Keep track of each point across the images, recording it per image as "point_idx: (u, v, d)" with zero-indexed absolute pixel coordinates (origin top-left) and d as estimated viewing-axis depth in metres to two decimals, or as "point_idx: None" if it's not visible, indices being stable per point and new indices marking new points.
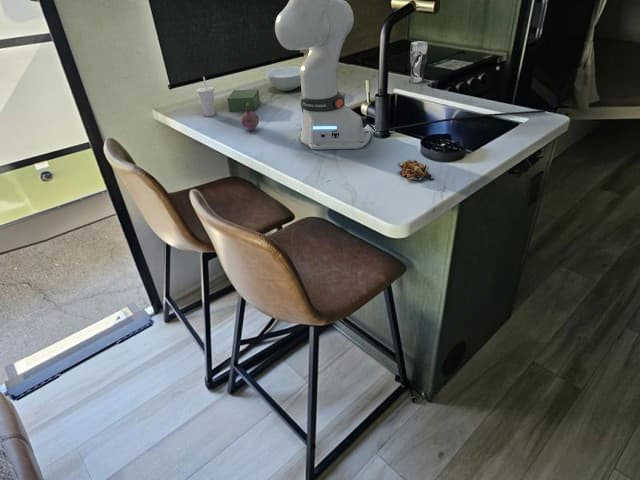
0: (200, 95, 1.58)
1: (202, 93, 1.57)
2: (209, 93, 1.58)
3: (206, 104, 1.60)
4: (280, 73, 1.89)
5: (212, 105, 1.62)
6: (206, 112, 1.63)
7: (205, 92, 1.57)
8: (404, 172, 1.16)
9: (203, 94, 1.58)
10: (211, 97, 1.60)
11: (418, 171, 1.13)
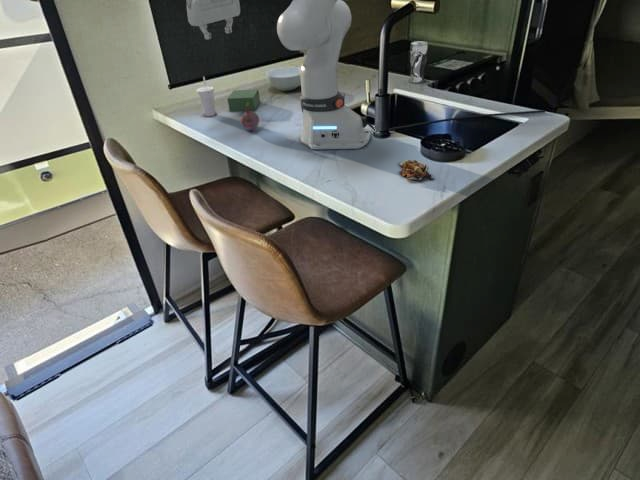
0: (200, 95, 1.58)
1: (202, 93, 1.57)
2: (209, 93, 1.58)
3: (206, 104, 1.60)
4: (280, 73, 1.89)
5: (212, 105, 1.62)
6: (206, 112, 1.63)
7: (205, 92, 1.57)
8: (404, 172, 1.16)
9: (203, 94, 1.58)
10: (211, 97, 1.60)
11: (418, 171, 1.13)
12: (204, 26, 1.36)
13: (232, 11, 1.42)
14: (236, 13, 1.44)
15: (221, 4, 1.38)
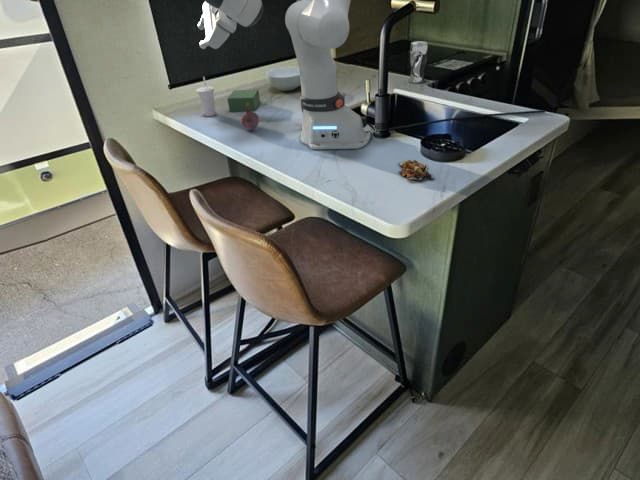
0: (200, 95, 1.58)
1: (202, 93, 1.57)
2: (209, 93, 1.58)
3: (206, 104, 1.60)
4: (280, 73, 1.89)
5: (212, 105, 1.62)
6: (206, 112, 1.63)
7: (205, 92, 1.57)
8: (404, 172, 1.16)
9: (203, 94, 1.58)
10: (211, 97, 1.60)
11: (418, 171, 1.13)
12: (203, 14, 1.45)
13: (208, 33, 1.38)
14: (207, 38, 1.37)
15: (212, 19, 1.38)
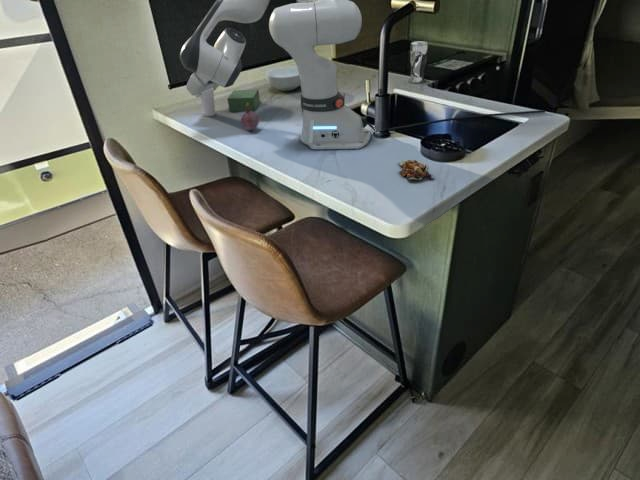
0: None
1: (202, 93, 1.57)
2: (209, 93, 1.58)
3: (206, 104, 1.60)
4: (280, 73, 1.89)
5: (212, 105, 1.62)
6: (206, 112, 1.63)
7: (205, 92, 1.57)
8: (404, 172, 1.16)
9: (203, 94, 1.58)
10: (211, 97, 1.60)
11: (418, 171, 1.13)
12: None
13: None
14: None
15: None
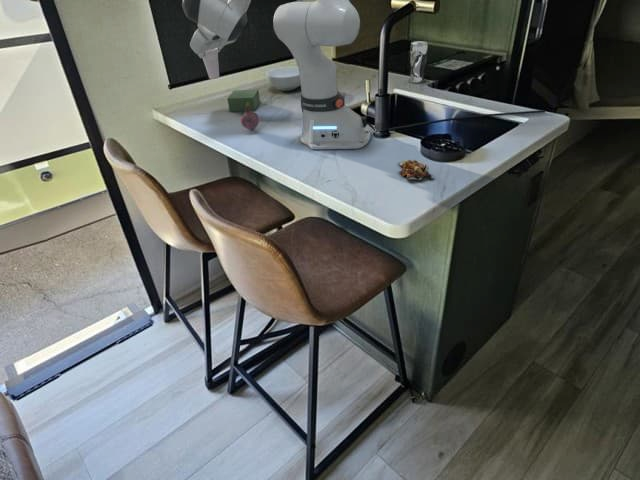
0: None
1: (206, 53, 1.51)
2: (213, 53, 1.52)
3: (210, 65, 1.54)
4: (280, 73, 1.89)
5: (216, 67, 1.55)
6: (210, 74, 1.56)
7: (209, 52, 1.51)
8: (404, 172, 1.16)
9: (207, 54, 1.51)
10: (215, 58, 1.53)
11: (418, 171, 1.13)
12: None
13: None
14: None
15: None
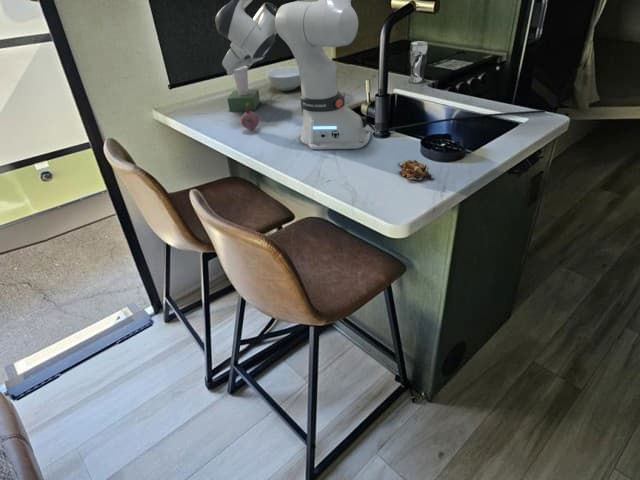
0: (235, 73, 1.60)
1: (237, 71, 1.59)
2: (244, 71, 1.60)
3: (240, 83, 1.62)
4: (280, 73, 1.89)
5: (246, 84, 1.64)
6: (240, 91, 1.65)
7: (240, 70, 1.59)
8: (404, 172, 1.16)
9: (238, 72, 1.60)
10: (245, 76, 1.62)
11: (418, 171, 1.13)
12: None
13: None
14: None
15: None
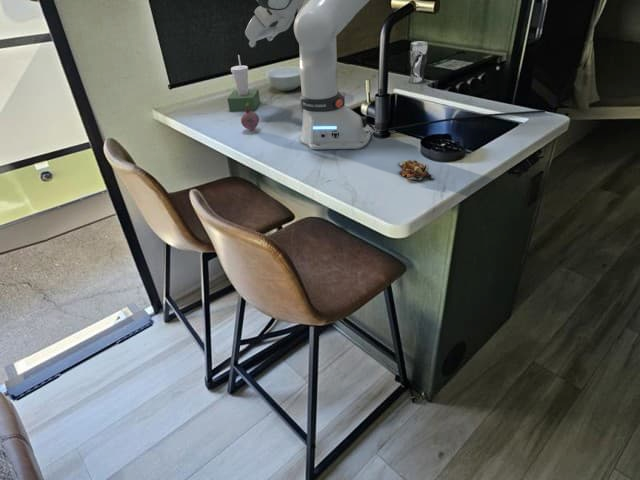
0: (235, 73, 1.60)
1: (237, 71, 1.59)
2: (244, 71, 1.60)
3: (240, 83, 1.62)
4: (280, 73, 1.89)
5: (246, 84, 1.64)
6: (240, 91, 1.65)
7: (240, 70, 1.59)
8: (404, 172, 1.16)
9: (238, 72, 1.60)
10: (245, 76, 1.62)
11: (418, 171, 1.13)
12: None
13: None
14: None
15: None
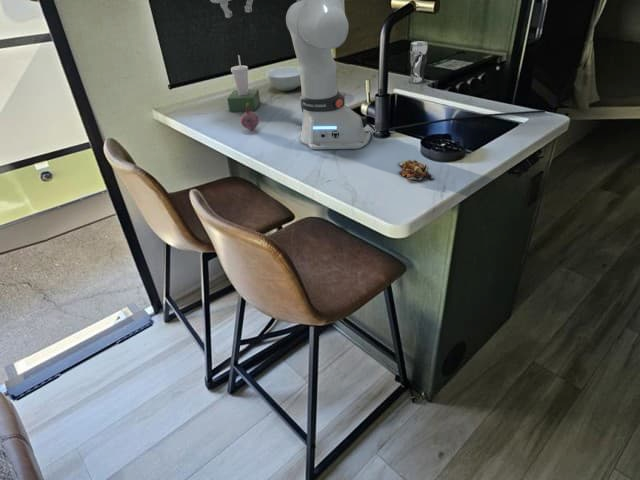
0: (235, 73, 1.60)
1: (237, 71, 1.59)
2: (244, 71, 1.60)
3: (240, 83, 1.62)
4: (280, 73, 1.89)
5: (246, 84, 1.64)
6: (240, 91, 1.65)
7: (240, 70, 1.59)
8: (404, 172, 1.16)
9: (238, 72, 1.60)
10: (245, 76, 1.62)
11: (418, 171, 1.13)
12: None
13: None
14: None
15: None
